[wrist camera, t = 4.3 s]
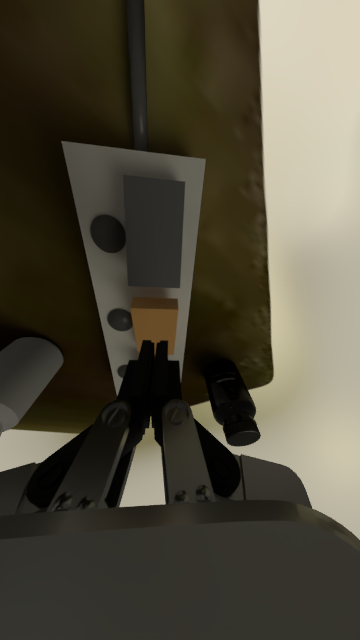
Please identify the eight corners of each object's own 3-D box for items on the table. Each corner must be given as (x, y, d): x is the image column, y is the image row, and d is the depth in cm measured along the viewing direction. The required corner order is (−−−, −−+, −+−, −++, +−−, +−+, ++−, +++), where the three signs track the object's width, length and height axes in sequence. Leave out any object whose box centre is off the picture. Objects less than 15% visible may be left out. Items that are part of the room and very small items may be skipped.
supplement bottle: (221, 353, 30) (251, 421, 19) (242, 369, 32) (278, 435, 22) (196, 373, 32) (210, 443, 22) (218, 386, 35) (239, 453, 24)
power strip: (58, 4, 11) (-2, -120, 7) (210, 35, 12) (231, -58, 8) (122, 376, 31) (116, 398, 27) (178, 376, 32) (179, 397, 28)
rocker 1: (128, 187, 13) (122, 174, 11) (182, 193, 14) (185, 181, 12) (132, 284, 15) (127, 286, 14) (178, 286, 16) (180, 288, 14)
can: (61, 336, 25) (-12, 412, 15) (69, 368, 29) (15, 447, 18) (8, 331, 24) (-113, 410, 14) (23, 365, 28) (-62, 448, 17)
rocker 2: (133, 296, 16) (130, 308, 15) (177, 298, 17) (178, 309, 15) (140, 343, 22) (138, 354, 20) (173, 344, 22) (173, 354, 21)
